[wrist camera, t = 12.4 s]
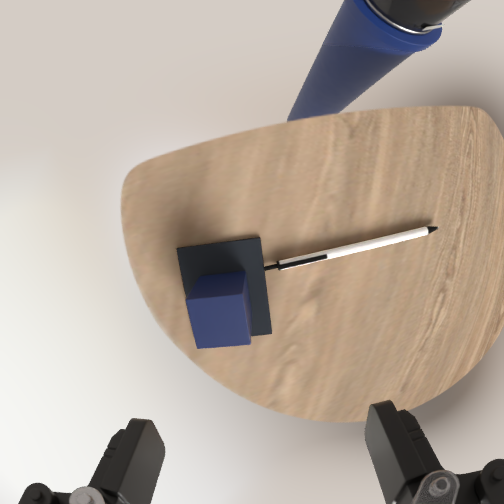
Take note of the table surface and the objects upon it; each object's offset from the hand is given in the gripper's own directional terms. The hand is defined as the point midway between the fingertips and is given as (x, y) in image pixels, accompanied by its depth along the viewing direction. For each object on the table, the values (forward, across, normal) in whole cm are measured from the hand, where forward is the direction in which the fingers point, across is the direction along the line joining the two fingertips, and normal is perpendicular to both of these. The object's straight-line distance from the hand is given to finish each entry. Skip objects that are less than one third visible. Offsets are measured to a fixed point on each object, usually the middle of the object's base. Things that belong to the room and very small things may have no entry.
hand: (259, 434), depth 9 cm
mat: (+19, +4, +2) cm, 20 cm away
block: (+19, +4, +2) cm, 19 cm away
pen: (+20, -10, -1) cm, 22 cm away
